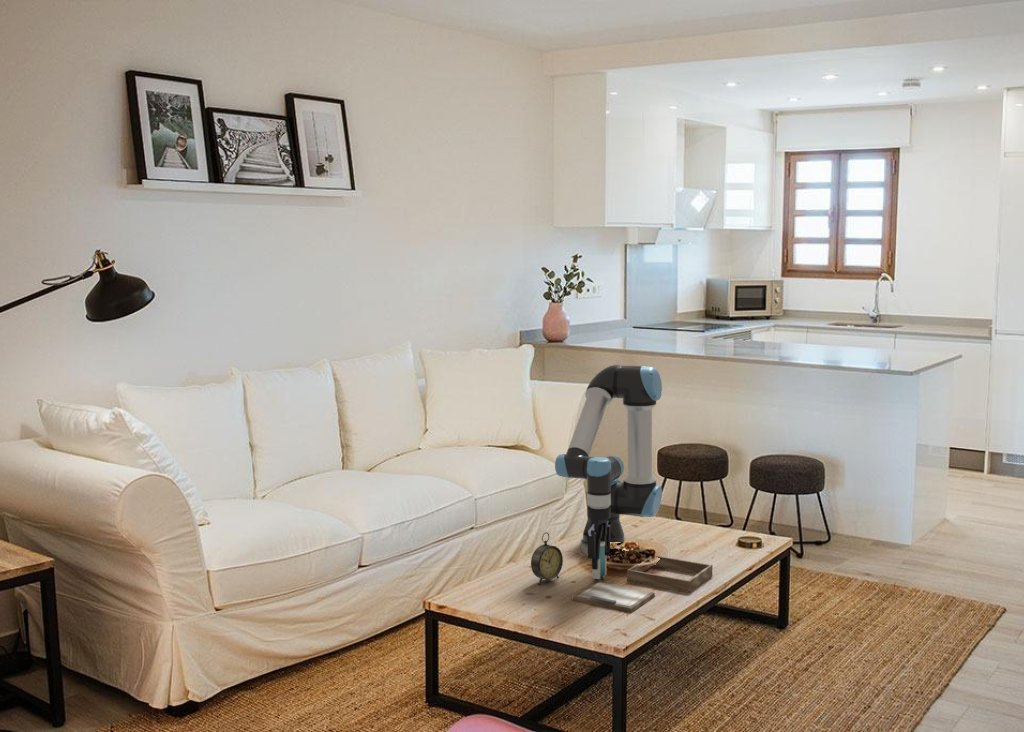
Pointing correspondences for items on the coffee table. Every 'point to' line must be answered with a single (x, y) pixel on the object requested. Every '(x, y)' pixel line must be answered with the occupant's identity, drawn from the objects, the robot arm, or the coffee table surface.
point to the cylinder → (602, 561)
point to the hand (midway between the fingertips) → (599, 576)
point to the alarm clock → (546, 561)
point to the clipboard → (614, 596)
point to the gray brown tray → (668, 582)
